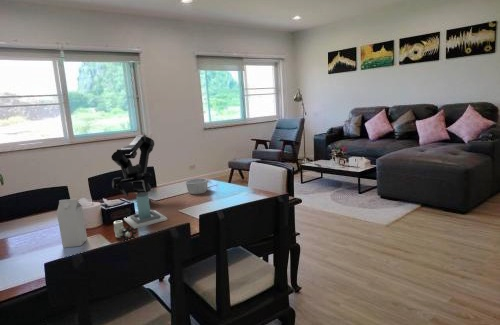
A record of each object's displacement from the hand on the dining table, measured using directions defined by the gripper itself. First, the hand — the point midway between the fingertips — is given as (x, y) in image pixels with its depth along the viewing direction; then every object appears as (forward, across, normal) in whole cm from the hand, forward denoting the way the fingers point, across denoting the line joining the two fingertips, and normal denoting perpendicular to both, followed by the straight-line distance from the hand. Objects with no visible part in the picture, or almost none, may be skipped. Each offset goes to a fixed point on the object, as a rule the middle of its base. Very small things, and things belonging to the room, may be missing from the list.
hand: (137, 194), depth 172 cm
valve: (+25, -15, -8) cm, 30 cm away
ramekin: (-6, +42, +22) cm, 48 cm away
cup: (+13, 0, +2) cm, 13 cm away
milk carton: (+19, -32, -2) cm, 37 cm away
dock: (+13, 0, +3) cm, 14 cm away
